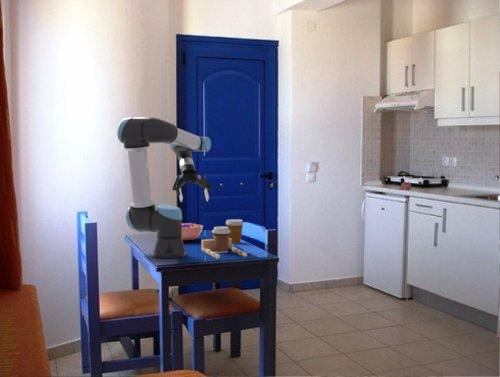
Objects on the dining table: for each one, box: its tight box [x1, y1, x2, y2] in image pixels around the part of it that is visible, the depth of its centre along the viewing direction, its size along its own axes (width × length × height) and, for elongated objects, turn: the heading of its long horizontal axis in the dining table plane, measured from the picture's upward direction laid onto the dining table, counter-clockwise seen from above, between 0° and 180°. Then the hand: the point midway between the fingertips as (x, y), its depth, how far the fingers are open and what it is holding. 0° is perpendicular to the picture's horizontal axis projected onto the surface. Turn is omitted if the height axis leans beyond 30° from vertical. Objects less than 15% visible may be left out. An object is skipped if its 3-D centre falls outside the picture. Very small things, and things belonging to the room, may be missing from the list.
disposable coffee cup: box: [225, 218, 244, 245], centre depth 311 cm, size 10×10×12 cm
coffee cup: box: [211, 225, 231, 254], centre depth 286 cm, size 9×9×12 cm
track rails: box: [202, 245, 248, 260], centre depth 282 cm, size 20×15×2 cm
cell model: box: [182, 222, 204, 242], centre depth 317 cm, size 17×20×11 cm
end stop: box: [200, 238, 233, 252], centre depth 293 cm, size 3×15×5 cm, turn 113°
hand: (194, 199), depth 296 cm, fingers open, 13 cm apart
